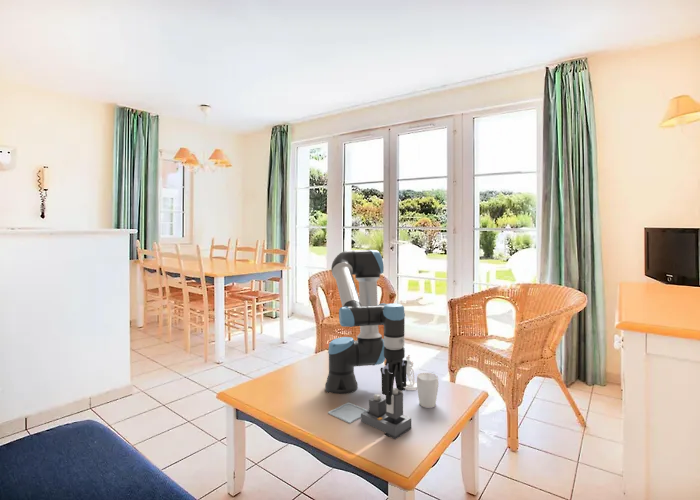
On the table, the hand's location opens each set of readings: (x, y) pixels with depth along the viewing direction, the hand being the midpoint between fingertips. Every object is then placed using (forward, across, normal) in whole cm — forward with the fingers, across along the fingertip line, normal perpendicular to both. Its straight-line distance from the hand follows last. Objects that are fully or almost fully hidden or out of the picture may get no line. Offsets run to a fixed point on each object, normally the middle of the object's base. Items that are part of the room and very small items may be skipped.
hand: (394, 409), depth 137 cm
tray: (+7, -3, +20) cm, 22 cm away
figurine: (+8, +37, +18) cm, 42 cm away
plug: (+2, 0, 0) cm, 2 cm away
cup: (+8, +26, +2) cm, 27 cm away
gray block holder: (+8, 0, +4) cm, 9 cm away
